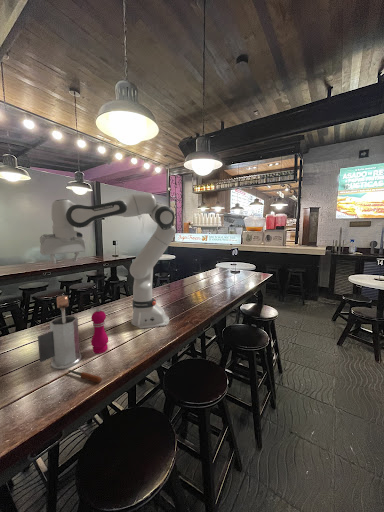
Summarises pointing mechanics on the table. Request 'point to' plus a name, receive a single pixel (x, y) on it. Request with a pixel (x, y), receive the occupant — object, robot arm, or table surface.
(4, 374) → the table surface
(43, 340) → the press
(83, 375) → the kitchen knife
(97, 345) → the pepper mill
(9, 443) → the table surface
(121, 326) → the table surface
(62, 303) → the plunger
